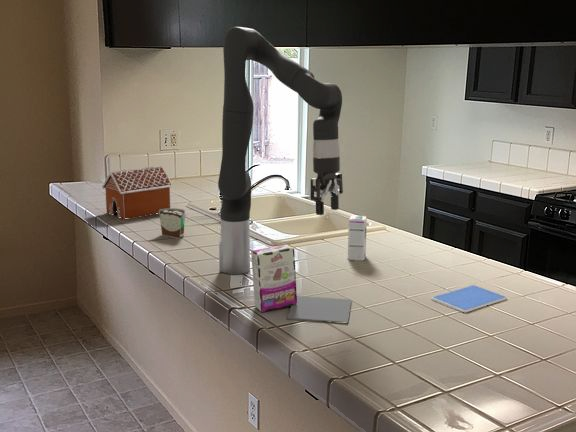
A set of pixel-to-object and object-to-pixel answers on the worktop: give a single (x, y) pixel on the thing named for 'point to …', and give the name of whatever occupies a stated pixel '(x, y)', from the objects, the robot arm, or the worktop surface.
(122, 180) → the gingerbread house
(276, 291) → the candy bar box
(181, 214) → the food container
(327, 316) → the mat
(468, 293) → the tablet computer
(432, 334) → the worktop surface
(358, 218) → the syrup box
